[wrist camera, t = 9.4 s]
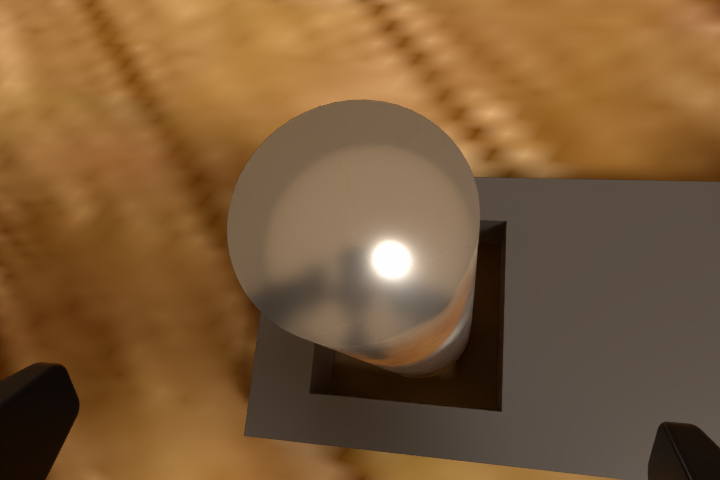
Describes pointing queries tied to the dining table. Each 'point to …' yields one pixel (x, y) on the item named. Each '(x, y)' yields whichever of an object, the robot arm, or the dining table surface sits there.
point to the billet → (361, 235)
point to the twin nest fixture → (548, 338)
